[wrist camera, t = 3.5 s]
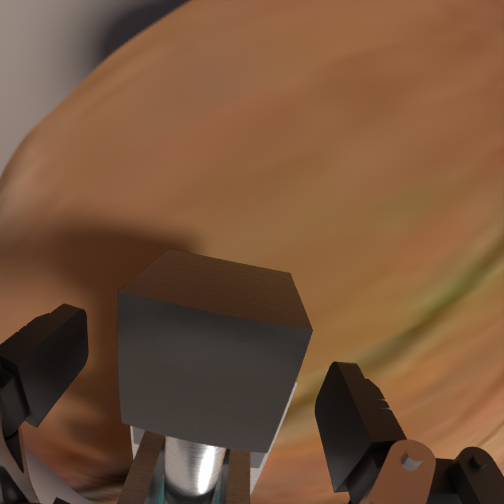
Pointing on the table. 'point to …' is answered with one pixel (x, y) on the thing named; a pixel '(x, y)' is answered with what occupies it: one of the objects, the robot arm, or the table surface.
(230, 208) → the table surface
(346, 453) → the robot arm
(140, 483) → the bearing stand
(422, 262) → the table surface
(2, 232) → the table surface
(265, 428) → the shaft
